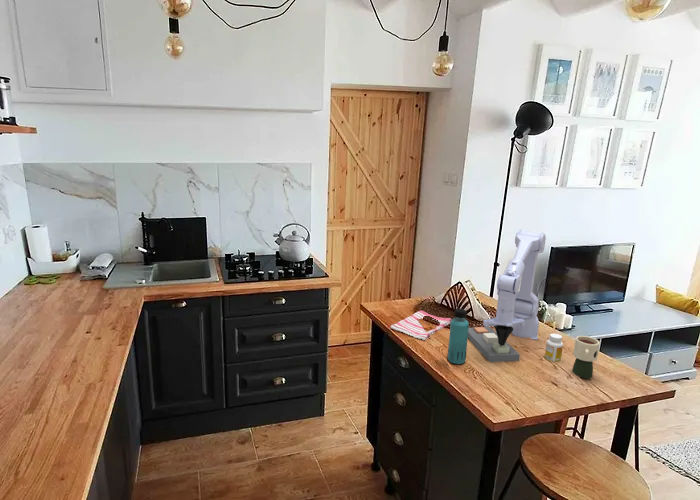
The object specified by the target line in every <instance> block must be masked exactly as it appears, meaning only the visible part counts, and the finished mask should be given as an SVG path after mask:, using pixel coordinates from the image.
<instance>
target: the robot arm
mask: <svg viewBox="0 0 700 500" xmlns="http://www.w3.org/2000/svg"><path fill="white" fill-rule="evenodd" d="M546 238H547V237H546V234H545V233H544V232H537V231H530V230H529V231H528V230H522V229H519V230H518V231H517V232H516V233H515V237H514V244H515V247H516V250H515V254H514V257H513V258H512V259H510V260H509V261H508V263H507V266H506V268H505V270H504V272H503V274H501V275H499V277H498V279H497V283H496V289H497V292H496V294H497V306H496V314H495V317H492V318H489V319H483V321H482V325H483V327H494V329H495V330H494V331H495V332H496V333H497V336H498V343H499V344H500V345H501V346H502V345H505V342H507V339H509V336H510V335H512V336H515V337H518V338H522V339H523V338H524V339H525V338H530V339H531V340H538V339H539V337H538V335H539V334H538V333H539V325H540V321H539V318H538V316H537V315H538V312H539V308H540V305H539V303H540V302H539V301H540V300H539V298H538V296H536V295H535V293H534V292H533V290H534V285H535V284H534V282H535V275H536V268H537V263H538V262H537V261H538V257H539V254H542V253H544V251H545V247H546V240H547V239H546Z"/></svg>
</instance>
